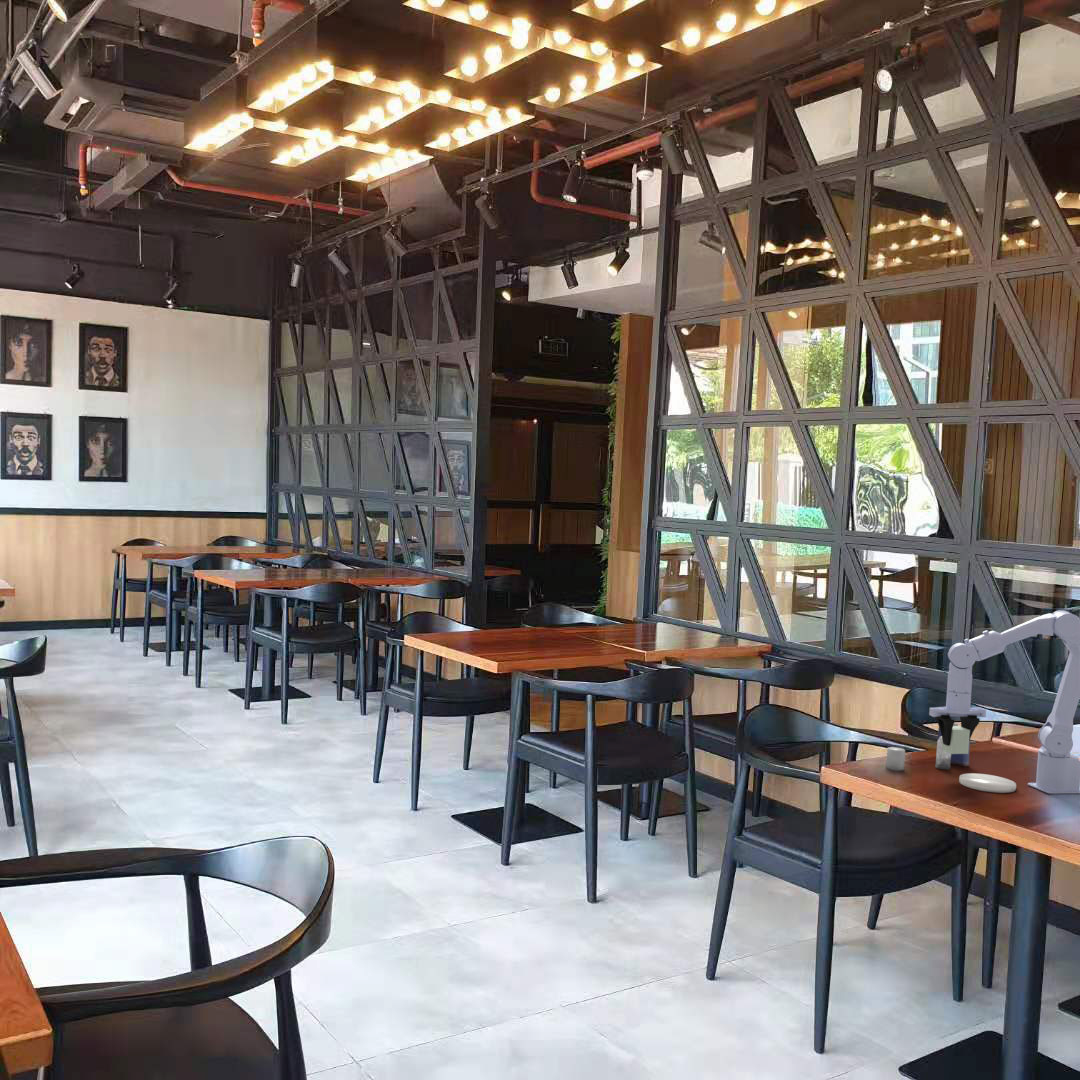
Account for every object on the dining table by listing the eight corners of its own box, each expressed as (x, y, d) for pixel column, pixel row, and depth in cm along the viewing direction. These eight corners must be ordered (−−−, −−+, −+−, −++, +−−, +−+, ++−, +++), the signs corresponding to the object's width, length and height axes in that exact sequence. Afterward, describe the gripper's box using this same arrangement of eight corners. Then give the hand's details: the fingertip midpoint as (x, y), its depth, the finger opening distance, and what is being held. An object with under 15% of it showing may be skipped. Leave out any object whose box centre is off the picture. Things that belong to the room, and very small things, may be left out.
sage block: (958, 749, 274) (959, 726, 274) (968, 753, 270) (969, 730, 270) (941, 749, 274) (943, 726, 273) (951, 753, 269) (953, 730, 269)
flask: (970, 765, 287) (973, 725, 286) (964, 767, 285) (967, 727, 284) (939, 758, 294) (941, 719, 293) (933, 759, 292) (935, 720, 292)
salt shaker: (945, 765, 285) (947, 733, 285) (952, 769, 281) (955, 737, 281) (932, 765, 284) (935, 733, 284) (940, 769, 281) (942, 736, 280)
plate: (994, 778, 275) (995, 773, 275) (1027, 792, 262) (1027, 787, 262) (948, 778, 272) (949, 773, 272) (979, 792, 259) (979, 788, 259)
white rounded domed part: (898, 766, 282) (899, 747, 282) (907, 770, 278) (908, 751, 278) (882, 766, 281) (884, 747, 281) (891, 770, 277) (892, 751, 277)
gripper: (975, 688, 276) (972, 741, 277) (924, 688, 274) (920, 740, 274) (992, 694, 269) (988, 747, 270) (939, 693, 267) (936, 747, 267)
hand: (955, 744), depth 272 cm, fingers closed on sage block, 4 cm apart
